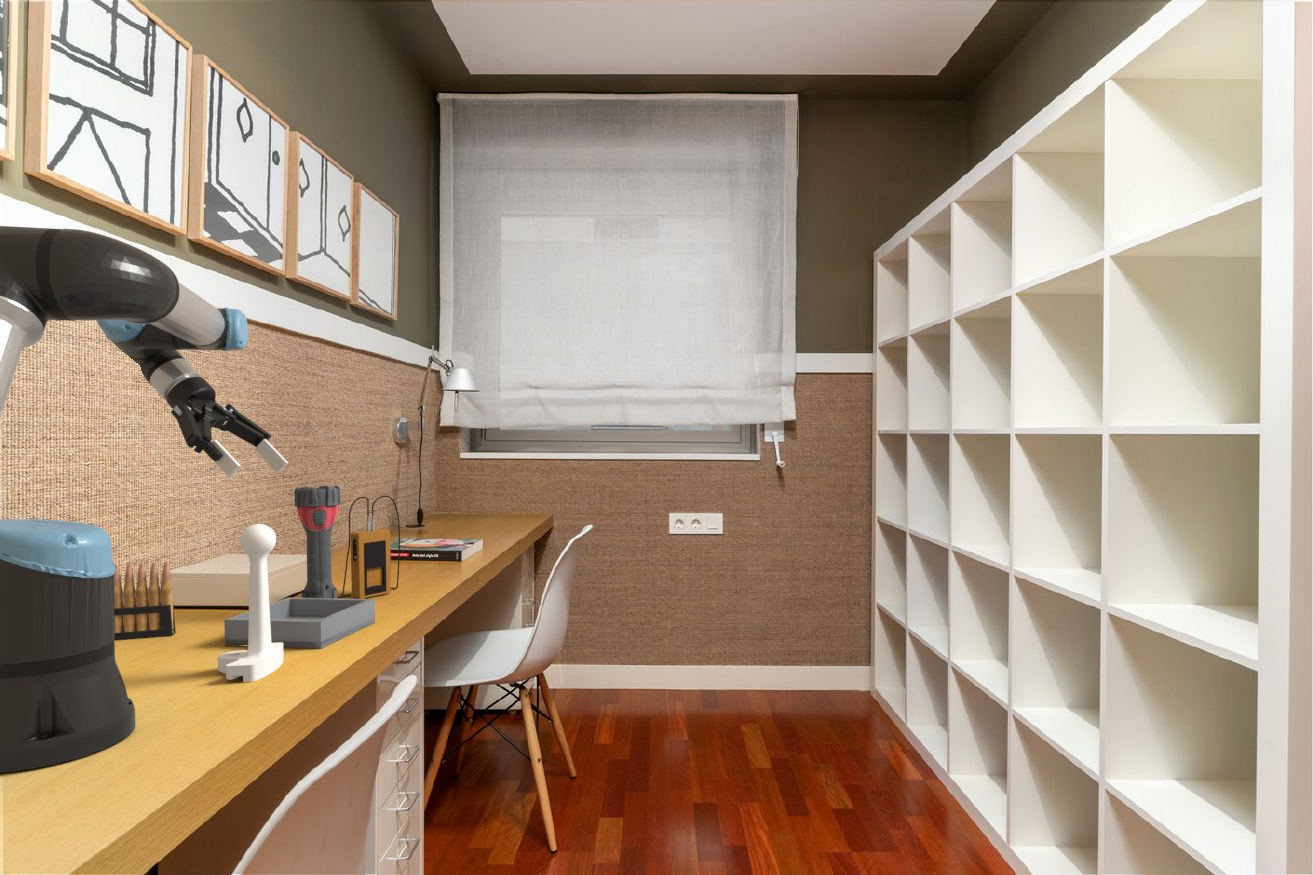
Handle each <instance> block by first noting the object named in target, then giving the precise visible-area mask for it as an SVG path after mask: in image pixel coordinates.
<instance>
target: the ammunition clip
mask: <svg viewBox="0 0 1313 875" xmlns="http://www.w3.org/2000/svg"><path fill="white" fill-rule="evenodd" d="M114 565H115V568H116V569H115V573H114V632H115V639H114V642H116V641H126V640H127V641H128V640H129V641H130V640H140V639H155V638H166V637H173V635H175V634H176V632H177V631H176V619H175V607H174V601H173V600H174V596H173V590H174V589H173V585H172V578H171V574H172V573H171V567H170V566H169V565H170V564H169V562H168V561H165V562H164V564H163V567H162V573H161V586H160V581H159V580H160V578H159V571H158V566H157V564H156V561H154V562H152V563H151V566H150V570H149V584H148V583H147V574H146V573H147V571H146V569H145V566H144V563H143V562H141V563H140V564H139V566H138V570H137V575H136V576H137V578H136V588H135V581H134V580H135V577H134V575H135V574H134V570H133V567H132V565H131V563H127V565H126V568H125V572H124V587H122V578H121V577H122V576H121V571H120V568H119V566H118V564H117V563H116V564H115V563H114Z"/></svg>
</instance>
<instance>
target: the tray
mask: <svg viewBox="0 0 1313 875" xmlns="http://www.w3.org/2000/svg"><path fill="white" fill-rule="evenodd" d="M375 601H376V600H375V599H374V598H371V599H370V598H365V599H356V598H342V599H341V598H339V599H338V597H337V598H302V597H289V596H287V597H285V598H284V599H280V600H277V601H273V602H271V603H269V608H270V626H271V643H279V642H282V643H283V648H289V649H290V648H293V649H296V648H297V649H298V648H299V649H319V650H320V649H324V648H325V647H327V646H329V645H331V644H334V643H336V642H337V641H340V640H342V639H344V638H346V637H348V636H350V635H353V634H355V633H356V632H358V631H360V630H363V629H365V628H367V627H369V626H372V625H373V624H375V623H376V611H375V610H376V605H375V604H376V602H375ZM223 622H224V624H223V625H224V646H225V645H248V631H249V610H248V611H245V612H243V613H239V614H237V615H234V616H231V617H227V618H224V620H223Z"/></svg>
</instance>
